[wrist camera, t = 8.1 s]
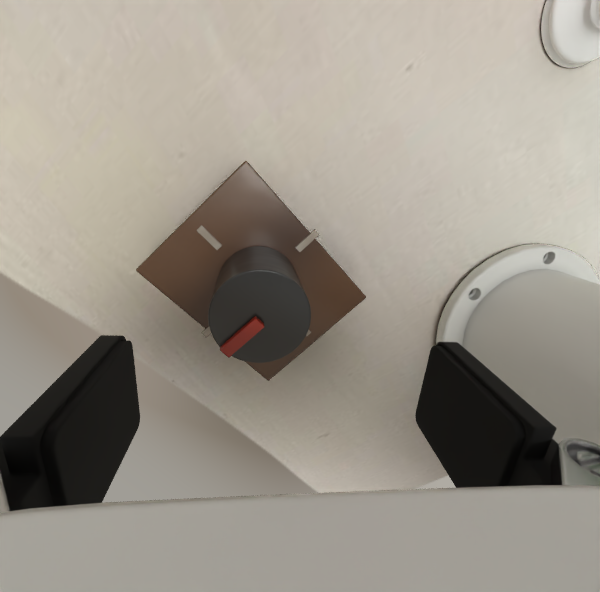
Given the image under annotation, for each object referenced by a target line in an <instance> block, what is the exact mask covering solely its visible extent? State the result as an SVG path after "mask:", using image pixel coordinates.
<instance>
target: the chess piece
mask: <svg viewBox="0 0 600 592" xmlns="http://www.w3.org/2000/svg"><path fill="white" fill-rule="evenodd" d="M541 35H542V41H543V45H544V48H545V50H546V52H547V54H548V55H549V57H550V58H551V59H552V60H553V61H554V62H555V63H557V64H558V65H560V66H563V67H567V68H575V67H580V66H583V65H585V64H587V63H589V62H591V61H593V60H596V59H597V58H599V57H600V0H547V1H546V3H545V7H544V10H543V15H542V22H541Z"/></svg>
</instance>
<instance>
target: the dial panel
mask: <svg viewBox="0 0 600 592" xmlns="http://www.w3.org/2000/svg"><path fill="white" fill-rule="evenodd" d="M318 235H319V234H318V233H317V232H316V231H315V230H313V231H312V232H311V233H310V232H309V231H308V230H307V229H306V228H305V227H304V226H303V225H302V223H301V222H300V221H299V220H298V219H297V218H296V217H295V215H294V214H293V213H292V212H291V211H290V210H289V209H288V208H287V206H286V205H285V204H284V203H283V202H282V201H281V200H280V198H279V197H278V196H277V195H276V194H275V193H274V192H273V191H272V189H271V188H270V187H269V186H268V185H267V184H266V183H265V181H264V180H263V179H262V178H261V177H260V176H259V175H258V173H257V172H256V171H255V170H254V169H253V168H252V167H251V166H250V164H249V163H248V162H247V161H245V162H244V163H243V164H242V165H241V166H240V167H239V168H238V169H237V170H236V171H235V172H234V173H233V174H232V175H231V176H230V177H229V178H228V179H227V180H226V181H225V182H224V183H223V184H222V185H221V186H220V187H219V188H218V189H217V190H216V191H215V192H214V193H213V194H212V195H211V196H210V197H209V198H208V199H207V200H206V201H205V202H204V203H203V204H202V205H201V206H200V207H199V208H198V209H197V210H196V211H195V212H194V213H193V214H192V215H191V216H190V217H189V218H188V219H187V220H186V221H184V222H183V223H182V224H181V225H180V226H179V227H178V228H177V229H176V230H175V231H174V232H173V233H172V234H171V235H170V236H169V237H168V238H167V239H166V240H165V241H164V242H163V243H162V244H161V245H160V246H159V247H158V248H157V249H156V250H155V251H154V252H153V253H152V254H151V255H150V256H149V257H148V258H147V259H146V260H145V261H144V262H143V263H142V264H141V265H140V266H139V267H138V268H137V269H136V271H137V272H139V273H140V274H141V275H142V276H143V277H144V278H146V279H147V280H148V281H149V282H150V283H152V284H153V285H154V286H155V287H156V288H158V289H159V290H160V291H161V292H162V293H164V294H165V295H166V296H167V297H168V298H170V299H171V300H172V301H173V302H174V303H176V304H177V305H178V306H179V307H180V308H182V309H183V310H184V311H185V312H186V313H188V314H189V315H190V316H191V317H192V318H194V319H195V320H196V321H197V322H198V323H200V324H201V325H202V326H203V327H204V328H206V329H205V330H204V331H203V332H202V334H203V335H204V336H205V337H207V336H209V335H210V334H211V331H210V327H209V323H208V311H209V306H210V302H211V299H212V296H213V292H214V289H215V286H216V283H217V279H218V276H219V273H220V270H221V268H222V266H223V265H224V263H225V262H226V260H227V259H228V258H229V257H230V256H232V255H233V254H234V253H236V252H237V251H239V250H242V249H244V248H248V247H253V246H263V247H268V248H272V249H274V250H277V251H278V252H280V253H282V254H283V255H284V256H286V257H287V258H288V259H289V261H290V262H291V263H292V265H293V266H294V268H295V271H296V273H297V275H298V277H299V280H300V282H301V284H302V286H303V289H304V291H305V293H306V295H307V298H308V300H309V303H310V307H311V322H310V327H309V330H308V332H307V334H306V336H305V338H304V340H303V341H302V342H301V344H300V345H299V346H298V347H297V348H296V349H295V350H294V351H292V352H291V353H290V354H288V355H286V356H285V357H283V358H280V359H278V360H275V361H271V362H265V363H252V362H246V361H245V362H246V363H248V364H249V365H250V366H251V367H252V368H254V369H255V370H256V371H257V372H258V373H260V374H261V375H262V376H263V377H264V378H266V379H267V380H268V381H269V380H270V379H271V378H272V377H273V376H275V375H276V374H277V373H278V372H279V371H280V370H282V369H283V368H284V367H285V366H286V365H288V364H289V363H290V362H291V361H292V360H293V359H295V358H296V357H297V356H298V355H299V354H300V353H302V352H303V351H304V350H305V349H306V348H307V347H309V346H310V345H311V344H312V343H313V342H315V341H316V340H317V339H318V338H319V337H320V336H322V335H323V334H324V333H325V332H326V331H327V330H329V329H330V328H331V327H332V326H333V325H334V324H336V323H337V322H338V321H339V320H340V319H341V318H343V317H344V316H345V315H346V314H347V313H349V312H350V311H351V310H352V309H353V308H354V307H356V306H357V305H358V304H359V303H360V302H361V301H363V300H364V299H365V298H366V296H365V295H364V294H363V293H362V291H361V290H360V289H359V288H358V287H357V286H356V285H355V284H354V282H353V281H352V280H351V279H350V278H349V277H348V276H347V274H346V273H345V272H344V271H343V270H342V269H341V268H340V267H339V265H338V264H337V263H336V262H335V261H334V260H333V259H332V257H331V256H330V255H329V254H328V253H327V252H326V251H325V250H324V248H323V247H322V246H321V245H320V244H319V243H318V242H317V240H316V239H315V238H316V237H317V236H318Z"/></svg>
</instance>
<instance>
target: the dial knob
mask: <svg viewBox="0 0 600 592" xmlns="http://www.w3.org/2000/svg"><path fill="white" fill-rule="evenodd" d="M310 322H311V307H310V303H309V300H308V298H307V295H306V293H305V291H304V289H303V286H302V284H301V282H300V280H299V277H298V275H297V273H296V271H295V268H294V266H293V265H292V263H291V262H290V261H289V259H288V258H287V257H286V256H284V255H283V254H282V253H280V252H278V251H277V250H274V249H272V248H268V247H263V246H253V247H248V248H244V249H242V250H239V251H237V252H236V253H234V254H233V255H232V256H230V257H229V258H228V259H227V260H226V262H225V263H224V265H223V266H222V268H221V270H220V273H219V276H218V279H217V283H216V286H215V289H214V292H213V296H212V299H211V302H210V306H209V311H208V323H209V327H210V331H211V333H212V336H213V338H214V339H215V341H216V342H217V344H218V345H219V346H220V351H222V352H223V353H224V354H225V355H226V356H227V357H230V356H233V357H235V358H237V359H240V360H243V361H246V362H252V363H265V362H271V361H275V360H278V359H280V358H283V357H285V356H286V355H288V354H290V353H291V352H292V351H294V350H295V349H296V348H297V347H298V346H299V345H300V344H301V342H302V341H303V340H304V338H305V336H306V334H307V332H308V330H309V327H310Z"/></svg>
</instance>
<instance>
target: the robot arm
mask: <svg viewBox="0 0 600 592" xmlns="http://www.w3.org/2000/svg"><path fill="white" fill-rule="evenodd" d="M139 422H140V413H139V402H138V393H137V384H136V375H135V365H134V356H133V347H132V343H131V341H126V339H125V337H124V336H105V335H102V336H100V337H99V338H98V339H97V340H96V341H95V342H94V343H93V344H92V345H91V346H90V347H89V348H88V349H87V350H86V351H85V352H84V353H83V354H82V355H81V356H80V357H79V358H78V359H77V360H76V361H75V362H74V363H73V364H72V365H71V366H70V367H69V368H68V369H67V370H66V371H65V372H64V373H63V374H62V375H61V376H60V377H59V378H58V379H57V380H56V381H55V382H54V383H53V384H52V385H51V386H50V387H49V388H48V389H47V390H46V391H45V392H44V393H43V394H42V395H41V396H40V397H39V398H38V399H37V400H36V402H34V404H32V405H31V407H29V408H28V409H27V410H26V411H25V412H24V413H23V414H22V416H20V417H19V418H18V420H16V422H14V423H13V424H12V425H11V426H10V427H9V428H8V430H7V431H5V433H4V434H3V435H2V436H1V437H0V592H600V281H599V277H598V275H597V273H596V272H595V270H594V268H593V267H592V265H591V264H590V263H589V262H588V261H587V260H586V259H585V258H584V257H583V256H581V255H579V254H577V253H575V252H573V251H572V250H569V249H566V248H562V247H558V246H555V245H548V244H539V243H538V244H528V245H521V246H518V247H514V248H511V249H508V250H505V251H503V252H501V253H499V254H497V255H495V256H493V257H491V258H489V259H488V260H486V261H485V262H483V263H482V264H481V265H479V266H478V267H476V268H475V269H474V270H473V271H472V272H471V273H470V274H469V275H468V276H467V277H466V278H465V279H464V280H463V281H462V282H461V283H460V284H459V286H458V287H457V288H456V290H455V291H454V292H453V294H452V295H451V297H450V299H449V300H448V302H447V304H446V306H445V308H444V310H443V312H442V315H441V318H440V321H439V324H438V330H437V337H436V346H433V347H432V348H431V351H430V355H429V359H428V363H427V367H426V372H425V376H424V380H423V384H422V388H421V393H420V397H419V401H418V405H417V409H416V422H417V424H418V426H419V428H420V429H421V431H422V433H423V434H424V436H425V438H426V439H427V441H428V442H429V444H430V446H431V447H432V449H433V451H434V452H435V454H436V455H437V457H438V459H439V460H440V462H441V464H442V465H443V467H444V468H445V470H446V472H447V473H448V475H449V477H450V478H451V480H452V481H453V483H454V485H455V486H456V488H438V489H407V490H380V491H354V492H329V493H308V494H307V493H305V494H280V495H260V496H258V495H257V496H236V497H214V498H194V499H171V500H150V501H129V502H109V503H102V501H103V499H104V497H105V494H106V493H107V491H108V489H109V486H110V484H111V482H112V480H113V478H114V476H115V474H116V472H117V470H118V468H119V466H120V464H121V462H122V460H123V458H124V456H125V454H126V452H127V450H128V448H129V445H130V443H131V441H132V439H133V437H134V435H135V433H136V431H137V429H138V426H139Z"/></svg>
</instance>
